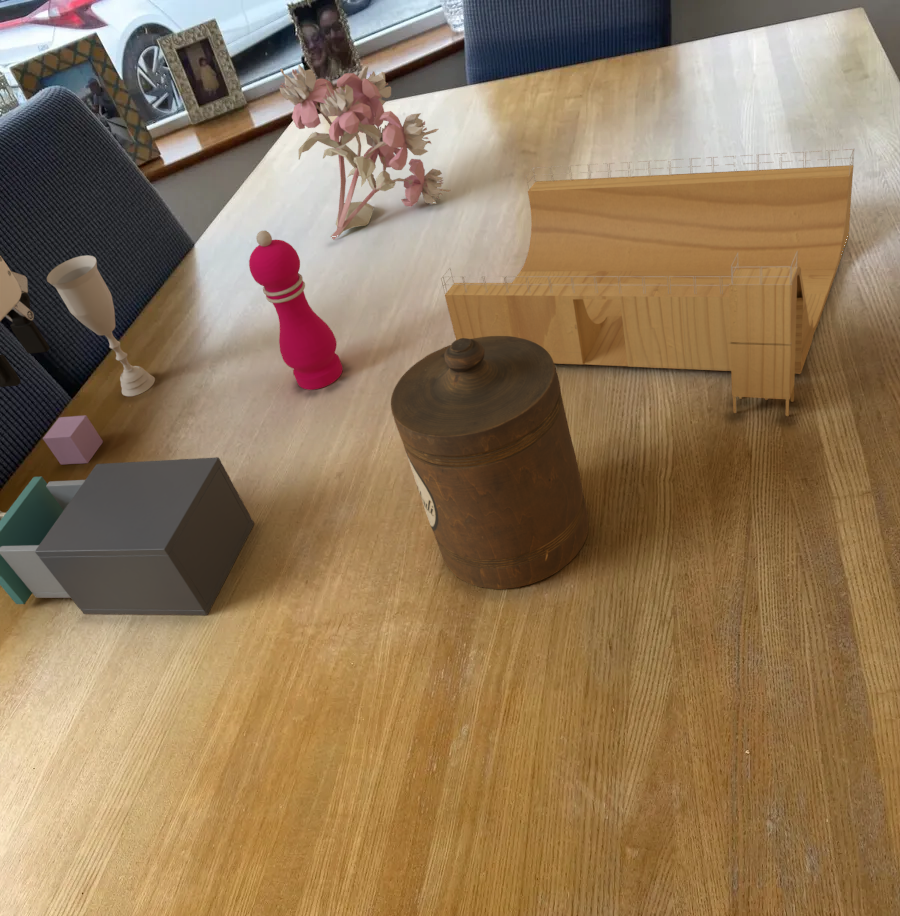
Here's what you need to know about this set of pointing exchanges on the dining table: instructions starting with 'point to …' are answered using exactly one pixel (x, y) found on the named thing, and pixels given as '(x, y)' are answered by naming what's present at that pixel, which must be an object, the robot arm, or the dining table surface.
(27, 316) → the robot arm
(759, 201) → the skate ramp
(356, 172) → the flower
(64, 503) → the drawer
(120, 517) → the cabinet
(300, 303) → the pepper mill
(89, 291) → the chalice
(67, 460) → the pink cube
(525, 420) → the wooden container
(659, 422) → the dining table surface
